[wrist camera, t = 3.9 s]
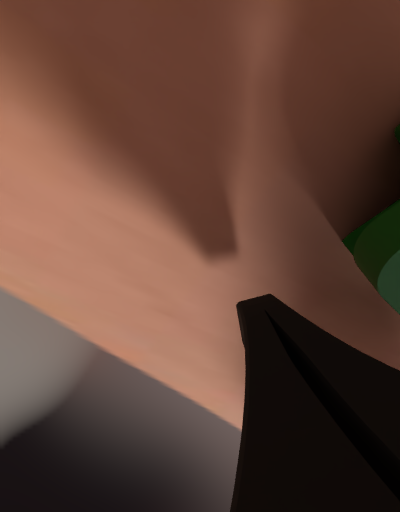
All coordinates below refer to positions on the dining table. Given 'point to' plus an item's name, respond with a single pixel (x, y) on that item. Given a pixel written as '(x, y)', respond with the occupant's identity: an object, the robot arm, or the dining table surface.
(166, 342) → the dining table surface
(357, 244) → the clamp
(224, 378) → the dining table surface
